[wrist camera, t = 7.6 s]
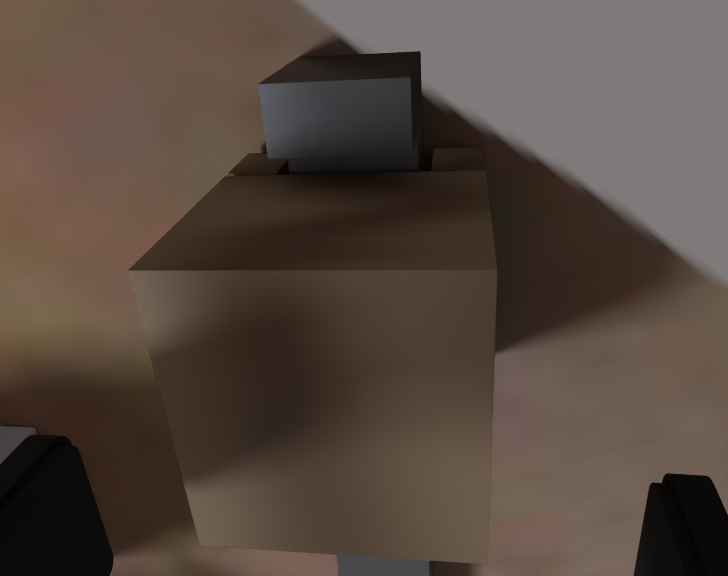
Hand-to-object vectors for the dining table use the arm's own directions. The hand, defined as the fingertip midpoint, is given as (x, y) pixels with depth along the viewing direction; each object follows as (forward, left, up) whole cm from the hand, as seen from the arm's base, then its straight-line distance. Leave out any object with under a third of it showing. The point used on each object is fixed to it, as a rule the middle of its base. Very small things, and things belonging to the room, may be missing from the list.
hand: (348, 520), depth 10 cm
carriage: (+1, -1, -9) cm, 9 cm away
